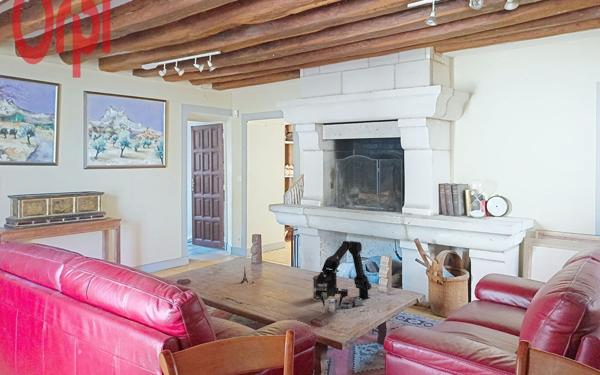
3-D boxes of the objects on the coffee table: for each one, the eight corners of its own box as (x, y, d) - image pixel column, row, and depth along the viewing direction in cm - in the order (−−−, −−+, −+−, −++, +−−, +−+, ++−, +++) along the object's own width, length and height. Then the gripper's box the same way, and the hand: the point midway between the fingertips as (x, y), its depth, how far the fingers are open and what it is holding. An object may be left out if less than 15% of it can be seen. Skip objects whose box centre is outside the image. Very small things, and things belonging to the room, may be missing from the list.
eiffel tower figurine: (244, 287, 324) (243, 268, 323) (233, 285, 329) (232, 266, 328) (257, 282, 336) (257, 264, 335) (246, 280, 342) (246, 262, 341)
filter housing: (327, 306, 278) (327, 300, 278) (358, 302, 286) (358, 295, 286) (333, 311, 270) (333, 304, 270) (365, 306, 278) (365, 299, 278)
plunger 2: (353, 303, 281) (353, 296, 281) (357, 303, 283) (357, 296, 282) (355, 305, 279) (355, 298, 278) (360, 304, 280) (360, 297, 279)
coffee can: (331, 300, 290) (331, 278, 289) (315, 302, 287) (315, 280, 286) (326, 295, 300) (325, 274, 299) (311, 297, 297) (310, 276, 296)
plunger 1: (332, 306, 276) (332, 299, 276) (337, 306, 277) (337, 299, 277) (334, 308, 273) (334, 301, 273) (339, 307, 275) (339, 300, 274)
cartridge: (328, 312, 267) (328, 300, 266) (329, 310, 270) (328, 298, 270) (334, 312, 266) (334, 301, 266) (335, 310, 270) (335, 299, 269)
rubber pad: (325, 311, 270) (325, 310, 270) (334, 310, 272) (334, 309, 272) (329, 314, 265) (329, 313, 265) (338, 313, 267) (338, 312, 267)
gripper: (314, 283, 261) (314, 310, 262) (347, 284, 258) (347, 311, 259) (316, 278, 271) (316, 304, 273) (347, 279, 269) (348, 305, 270)
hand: (331, 306), depth 268 cm, fingers open, 9 cm apart
